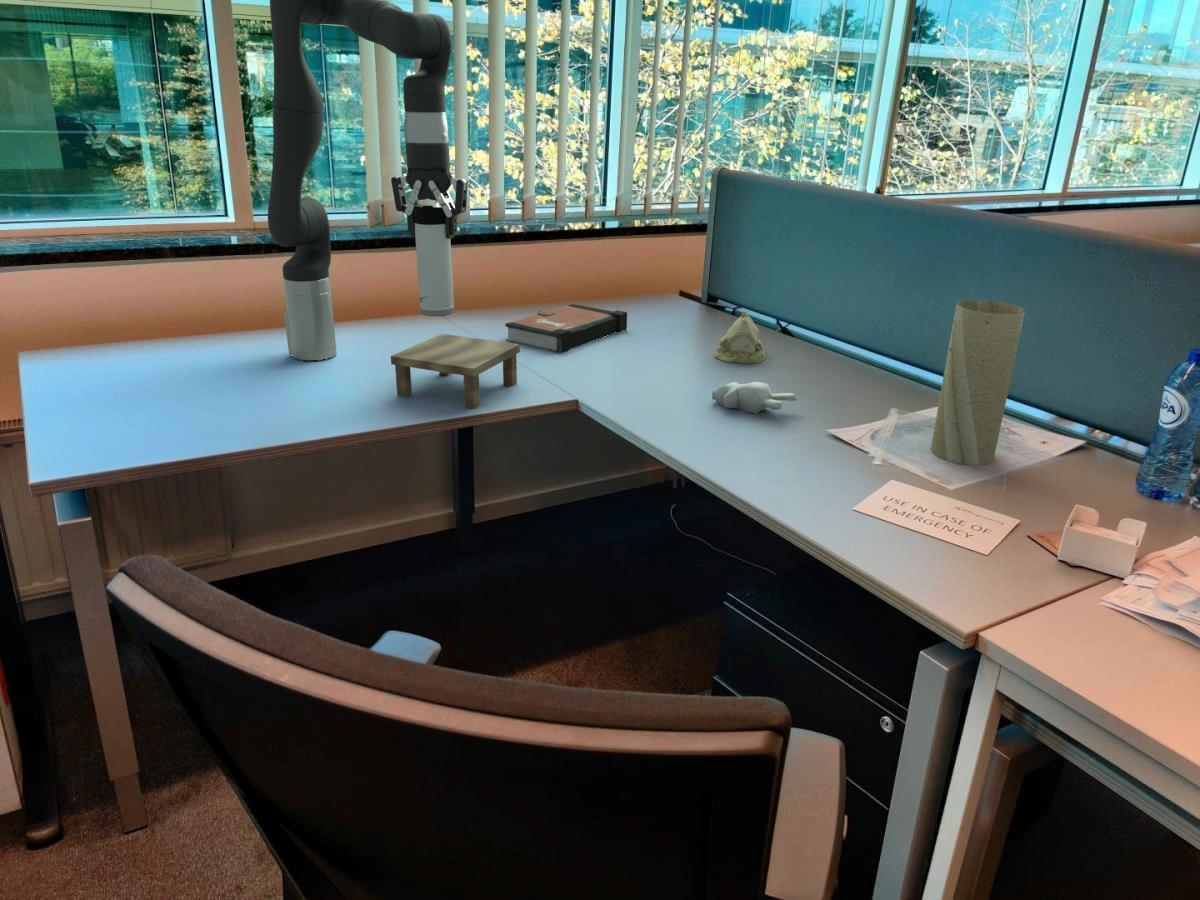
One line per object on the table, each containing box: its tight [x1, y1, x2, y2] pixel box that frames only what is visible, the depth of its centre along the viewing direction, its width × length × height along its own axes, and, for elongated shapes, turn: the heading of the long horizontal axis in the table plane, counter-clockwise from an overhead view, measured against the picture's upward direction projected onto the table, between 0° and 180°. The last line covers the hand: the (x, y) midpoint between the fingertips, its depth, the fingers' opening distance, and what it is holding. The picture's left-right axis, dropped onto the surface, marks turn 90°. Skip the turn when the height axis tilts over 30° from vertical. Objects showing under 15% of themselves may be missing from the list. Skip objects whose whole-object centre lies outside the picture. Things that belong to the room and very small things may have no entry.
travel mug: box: [414, 204, 455, 318], centre depth 160 cm, size 6×7×20 cm
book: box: [505, 303, 628, 354], centre depth 210 cm, size 26×18×5 cm
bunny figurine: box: [711, 381, 797, 415], centre depth 164 cm, size 10×5×15 cm
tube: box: [930, 299, 1026, 466], centre depth 141 cm, size 10×10×25 cm
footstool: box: [390, 333, 521, 410], centre depth 170 cm, size 18×18×8 cm
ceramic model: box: [714, 311, 766, 364], centre depth 196 cm, size 14×11×10 cm
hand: (432, 236), depth 159 cm, fingers closed on travel mug, 6 cm apart
